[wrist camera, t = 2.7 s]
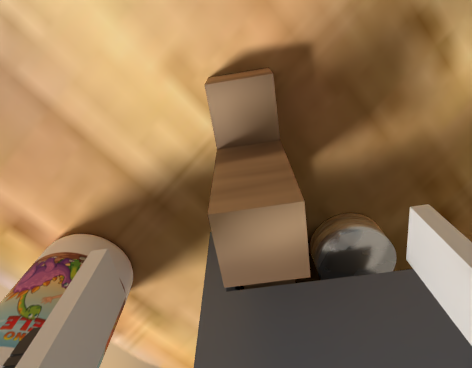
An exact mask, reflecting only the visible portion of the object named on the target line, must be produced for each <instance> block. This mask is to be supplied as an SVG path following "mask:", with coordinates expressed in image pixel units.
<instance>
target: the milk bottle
mask: <svg viewBox="0 0 472 368" xmlns="http://www.w3.org/2000/svg"><path fill="white" fill-rule="evenodd" d="M101 249H108V251H109V253H110V256H111V258H112V261H113V263H114V266H115V268H116V271H117V273H118V276H119V279H120V281H121V284H122V286H123V289H124V291H125V294H126V297H125V300H124V302H123V305H122V307H121V309H120V312H119V314H118V317H117V319H116V322H115V324H114V327H113V329H112V331H111V334H110V336H109V339H108V341H107V344H106V346H105V349H104V351H103V354H102V356H101V358H100V361H99V363H98V366H97V368H99V367H100V364H101V362H102V359H103V357H104V354H105V352H106V350H107V347H108V345H109V342H110V340H111V337H112V335H113V332H114V330H115V327H116V325H117V322H118V320H119V317H120V315H121V312H122V310H123V307H124V305H125V302H126V300H127V297H128V295H129V292H130V289H131V286H132V283H133V270H132V266H131V263H130V261H129V259H128V257H127V256H126V254H125V253H124V252H123V251H122V250H121V249H120V248H119V247H118V246H117V245H115V244H114V243H112V242H110V241H109V240H107V239H104V238H102V237H99V236H95V235H91V234H73V235H69V236H65V237H63V238H60V239H58V240H56V241H55V242H53V243H52V244H51V245H50V246H49V247H48V248H47V249H46V250H45V251H44V252H43V253H42V254H41V256H40V257H39V258H38V259H37V260H36V261H35V263H34V264H33V265H32V266H31V267H30V268H29V270H28V271H27V272H26V273H25V274H24V275H23V277H22V278H21V279H20V280H19V281H18V282H17V284H16V285H15V286H14V287H13V288H12V290H11V291H10V292H9V293H8V294H7V295H6V297H5V298H4V299H3V300H2V301H1V302H0V368H2V366H3V364H4V363H5V361H6V360H7V359H8V358H9V357H10V354H11V353H12V351H13V350H14V348H15V347H16V346H17V344H18V343H19V341H20V340H21V339H22V338H23V337H24V336H26V335H27V334H28V333H29V332H30V331H31V330H32V329H33V328H38V327H42V325H43V324H44V322H45V321H46V319H47V318H48V316H49V315H50V313H51V312H52V310H53V309H54V307H55V305H56V304H57V302H58V301H59V299H60V298H61V296H62V295H63V293H64V292H65V290H66V289H67V287H68V286H69V284H70V282H71V281H72V279H73V278H74V276H75V275H76V273H77V272H78V270H79V269H80V267H81V266H82V264H83V263H84V261H85V259H86V258H87V256H88V255H89V253H90V252H91V251H94V250H101Z"/></svg>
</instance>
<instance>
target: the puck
mask: <svg viewBox="0 0 472 368" xmlns="http://www.w3.org/2000/svg"><path fill="white" fill-rule="evenodd" d="M310 252H311V255H312V258H313V261H314V264H315V266H316V269H317V272H318V275H319V277H320V279H321V280H327V279H335V278H343V277H351V276H359V275H367V274H376V273H384V272H392V271H393V270H394V268H395V265H396V251H395V248H394V246H393V245H392V243H391V242H390V241H389V239H388V238H387V237H386V235H385V234H384V233H383V231H382V230H381V229H380V227H379V226H378V225H377V224H376V222H375V221H373V220H372V219H371V218H369V217H367V216H365V215H362V214H357V213H345V214H340V215H336V216H334V217H331V218H329V219H328V220H326V221H325V222H323V223H322V224H321V225H320V226H319V227H318V228H317V229H316V230H315V232H314V233H313V235H312V238H311V241H310Z"/></svg>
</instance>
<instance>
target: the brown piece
mask: <svg viewBox="0 0 472 368" xmlns="http://www.w3.org/2000/svg"><path fill="white" fill-rule="evenodd" d="M205 89H206V94H207V100H208V105H209V110H210V115H211V120H212V125H213V130H214V135H215V141H216V146H217V154H216V161H215V168H214V174H213V181H212V188H211V195H210V202H209V208H208V219H209V223H210V228H211V232H212V236H213V241H214V245H215V249H216V254H217V258H218V262H219V267H220V271H221V276H222V280H223V284H224V288H227V287H235V286H243V285H244V290H245V289H253V288H261V287H269V286H278V285H286V284H294V283H295V279H299V278H307V277H310V265H309V252H308V239H307V226H306V214H305V201H304V199H303V196H302V194H301V191H300V189H299V186H298V184H297V181H296V178H295V176H294V173H293V171H292V168H291V166H290V163H289V161H288V158H287V156H286V153H285V151H284V148H283V146H282V143H281V141H280V134H279V124H278V115H277V105H276V96H275V86H274V77H273V73H272V71H271V70H270V69H269V68H263V69H257V70H251V71H245V72H239V73H233V74H227V75H221V76H215V77H209V78H208V79H207V81H206V83H205Z"/></svg>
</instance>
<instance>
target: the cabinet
mask: <svg viewBox="0 0 472 368" xmlns="http://www.w3.org/2000/svg"><path fill="white" fill-rule="evenodd" d="M194 368H472V346H471V344H470V343H469V342H468V340H467V339H466V338H465V337H464V335H463V334H462V333H461V331H460V330H459V329H458V327H457V326H456V325H455V323H454V322H453V321H452V319H451V318H450V317H449V315H448V314H447V313H446V311H445V310H444V309H443V307H442V306H441V305H440V304H439V302H438V301H437V300H436V298H435V297H434V296H433V294H432V293H431V292H430V290H429V289H428V288H427V286H426V285H425V284H424V282H423V281H422V280H421V278H420V277H419V276H418V274H417V273H416V272H415V271H414V269H408V270H400V271H392V272H384V273H376V274H367V275H359V276H351V277H343V278H335V279H327V280H318V281H310V282H302V283H294V284H286V285H278V286H269V287H261V288H253V289H245V290H240V286H235V287H227V288H224V284H223V280H222V276H221V271H220V267H219V262H218V258H217V254H216V249H215V245H214V241H213V236H212V232H210V239H209V247H208V256H207V264H206V272H205V280H204V288H203V297H202V305H201V313H200V321H199V329H198V338H197V346H196V354H195V362H194Z"/></svg>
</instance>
